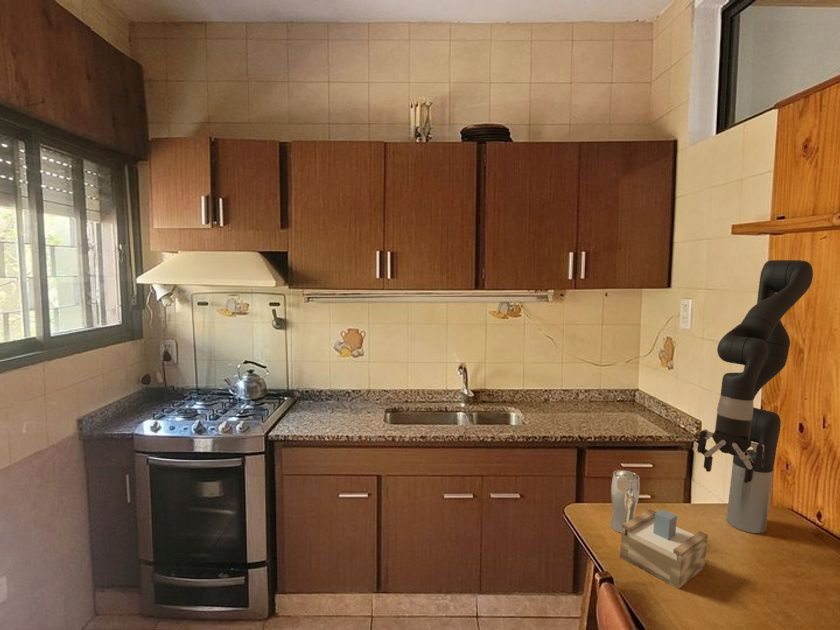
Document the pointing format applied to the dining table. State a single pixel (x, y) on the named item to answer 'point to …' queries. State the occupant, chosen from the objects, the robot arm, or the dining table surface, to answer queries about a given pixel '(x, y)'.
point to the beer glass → (624, 497)
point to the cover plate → (657, 540)
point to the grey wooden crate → (659, 563)
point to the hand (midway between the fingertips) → (726, 476)
